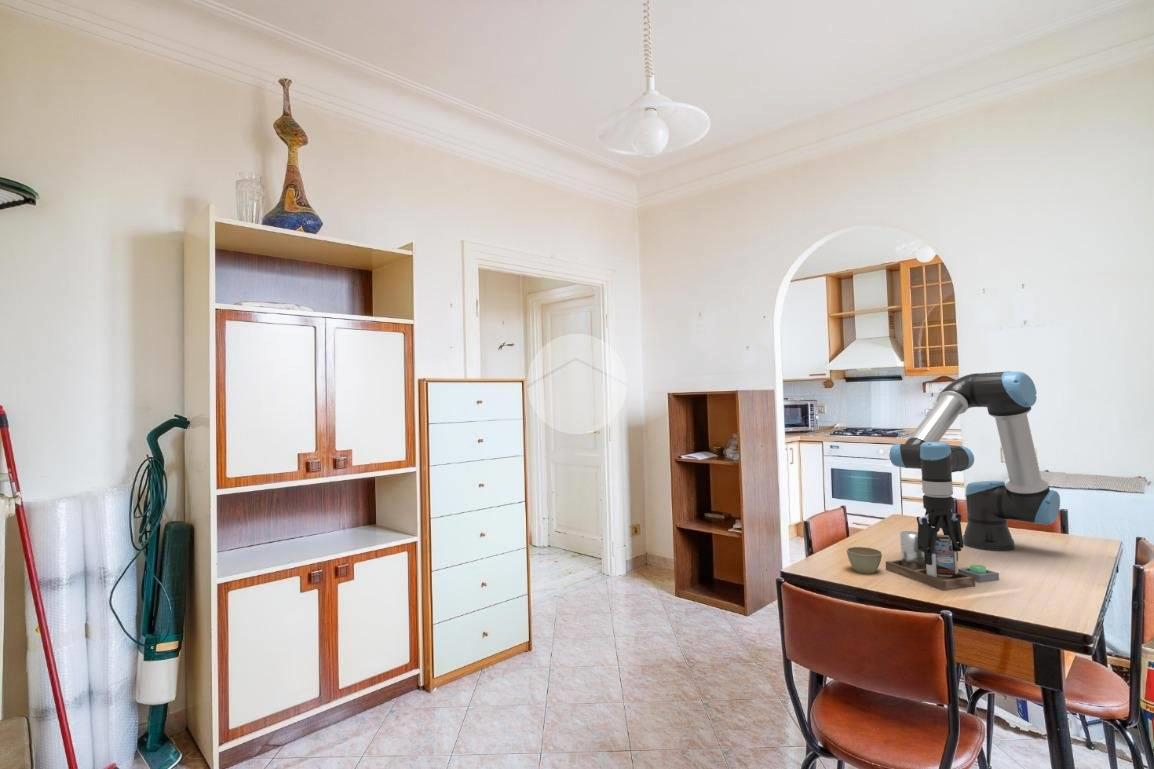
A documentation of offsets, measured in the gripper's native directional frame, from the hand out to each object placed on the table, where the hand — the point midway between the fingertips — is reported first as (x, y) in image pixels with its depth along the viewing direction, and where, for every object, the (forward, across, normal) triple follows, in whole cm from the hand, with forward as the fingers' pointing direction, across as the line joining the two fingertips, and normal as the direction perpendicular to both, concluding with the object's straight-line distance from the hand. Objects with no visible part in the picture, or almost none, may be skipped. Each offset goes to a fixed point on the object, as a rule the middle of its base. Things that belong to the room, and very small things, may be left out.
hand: (942, 574), depth 163 cm
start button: (+2, -13, 0) cm, 13 cm away
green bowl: (+4, +12, -17) cm, 21 cm away
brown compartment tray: (+3, 0, -5) cm, 6 cm away
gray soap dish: (+3, -13, 0) cm, 13 cm away
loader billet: (+2, 0, -10) cm, 10 cm away
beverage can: (+1, 0, 0) cm, 1 cm away
